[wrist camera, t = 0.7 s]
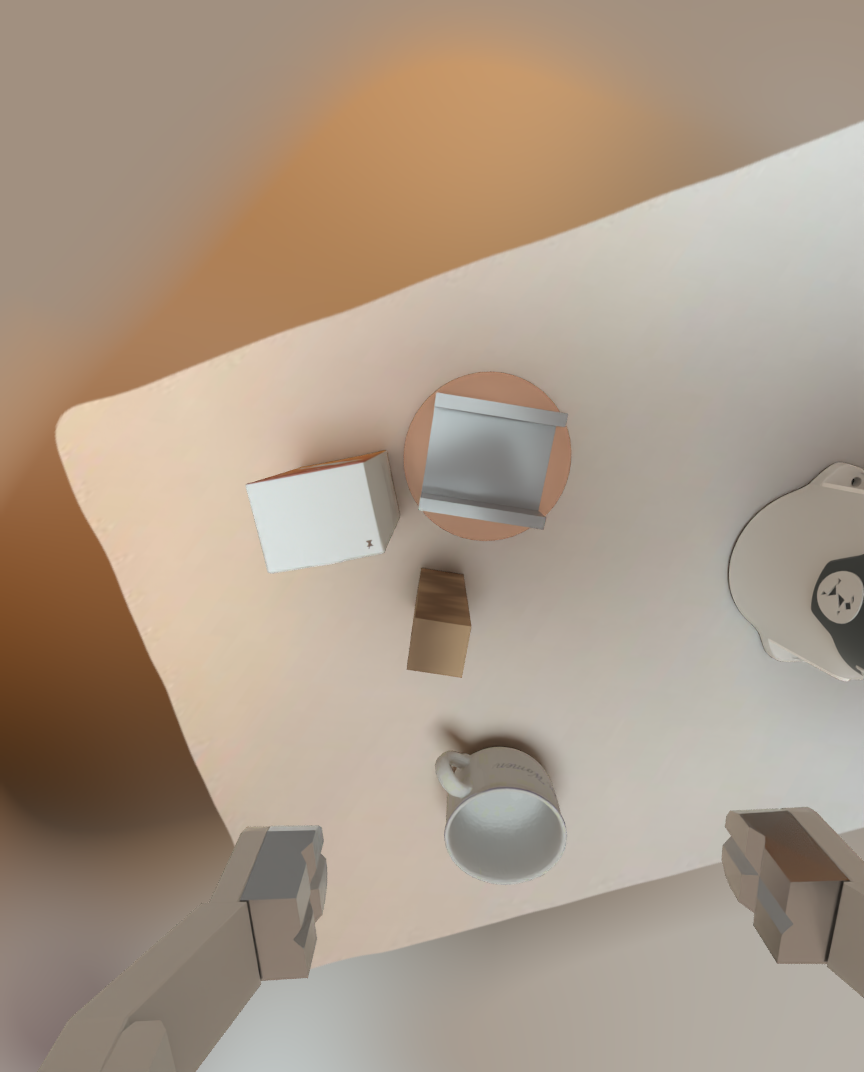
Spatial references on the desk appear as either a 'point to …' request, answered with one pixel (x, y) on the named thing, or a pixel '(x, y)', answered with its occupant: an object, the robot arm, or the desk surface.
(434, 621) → the wood grain beam
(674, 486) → the desk surface
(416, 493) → the round base with bracket
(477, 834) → the teacup
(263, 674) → the desk surface
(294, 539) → the small box
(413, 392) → the desk surface
